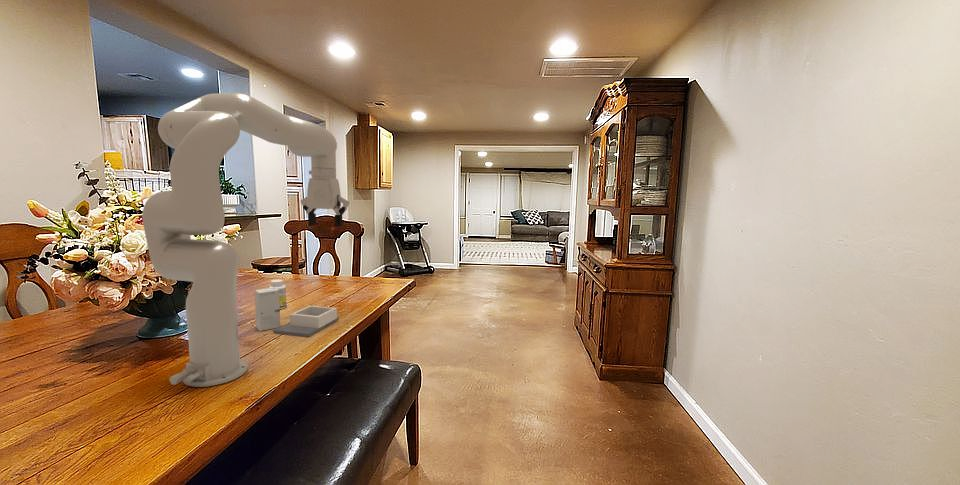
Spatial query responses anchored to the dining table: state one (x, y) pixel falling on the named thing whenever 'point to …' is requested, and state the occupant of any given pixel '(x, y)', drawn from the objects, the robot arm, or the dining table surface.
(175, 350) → the dining table surface
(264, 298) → the skincare box
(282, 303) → the supplement bottle
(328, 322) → the socket holder
